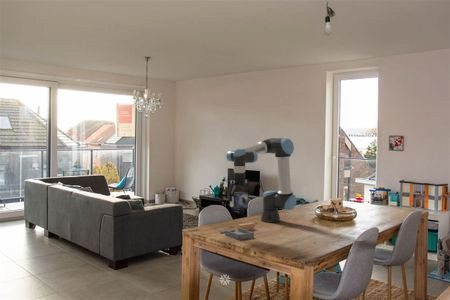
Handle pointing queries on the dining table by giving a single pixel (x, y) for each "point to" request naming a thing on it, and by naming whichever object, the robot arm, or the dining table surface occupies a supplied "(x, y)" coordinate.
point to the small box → (240, 200)
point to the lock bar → (247, 226)
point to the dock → (239, 234)
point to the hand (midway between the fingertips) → (239, 205)
